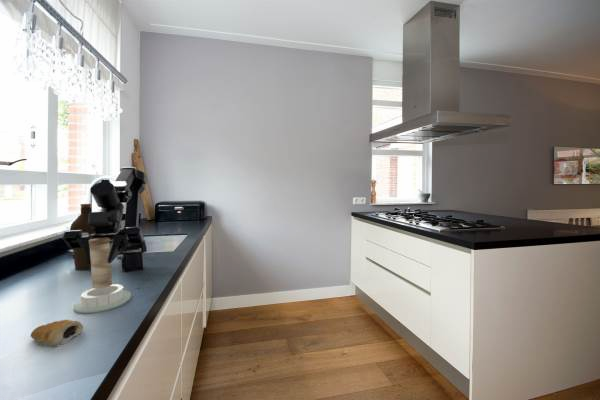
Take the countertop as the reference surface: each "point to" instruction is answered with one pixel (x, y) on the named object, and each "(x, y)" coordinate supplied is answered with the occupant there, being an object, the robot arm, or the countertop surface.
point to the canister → (100, 262)
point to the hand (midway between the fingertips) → (99, 263)
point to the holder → (102, 299)
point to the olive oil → (82, 224)
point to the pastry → (56, 332)
